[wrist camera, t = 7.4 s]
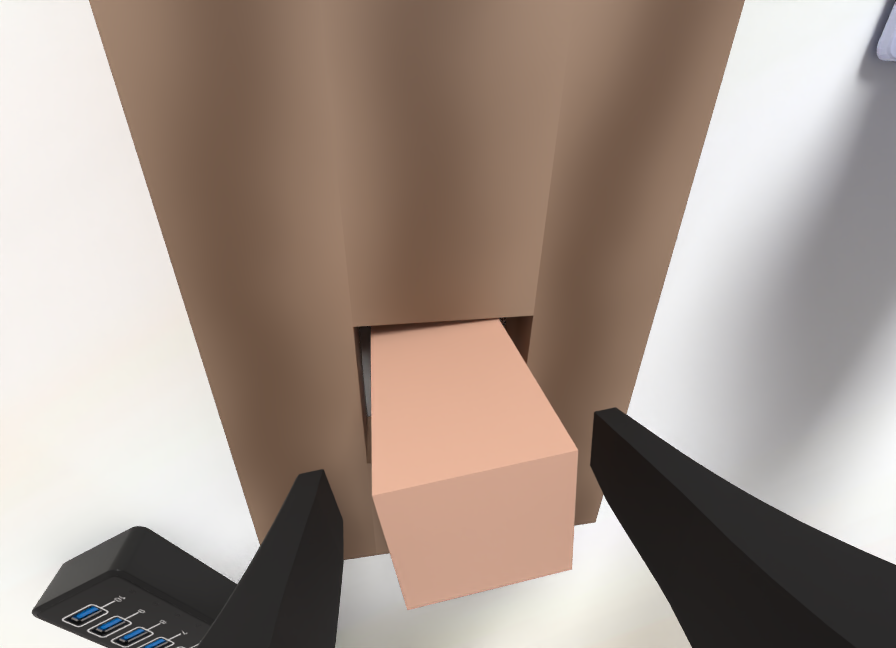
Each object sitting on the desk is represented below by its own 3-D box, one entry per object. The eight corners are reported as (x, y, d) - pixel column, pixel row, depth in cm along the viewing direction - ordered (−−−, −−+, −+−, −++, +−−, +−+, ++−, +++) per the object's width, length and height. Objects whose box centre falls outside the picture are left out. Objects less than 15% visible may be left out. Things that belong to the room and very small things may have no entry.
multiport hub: (144, 515, 18) (115, 569, 16) (338, 640, 25) (335, 687, 23) (62, 558, 18) (23, 615, 16) (276, 668, 25) (268, 718, 23)
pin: (480, 288, 15) (578, 449, 8) (487, 377, 17) (571, 569, 10) (370, 308, 14) (371, 496, 8) (391, 396, 16) (407, 610, 9)
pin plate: (687, -35, 11) (764, -68, 9) (571, 478, 21) (595, 522, 18) (122, -82, 9) (45, -140, 7) (280, 516, 18) (268, 571, 16)
